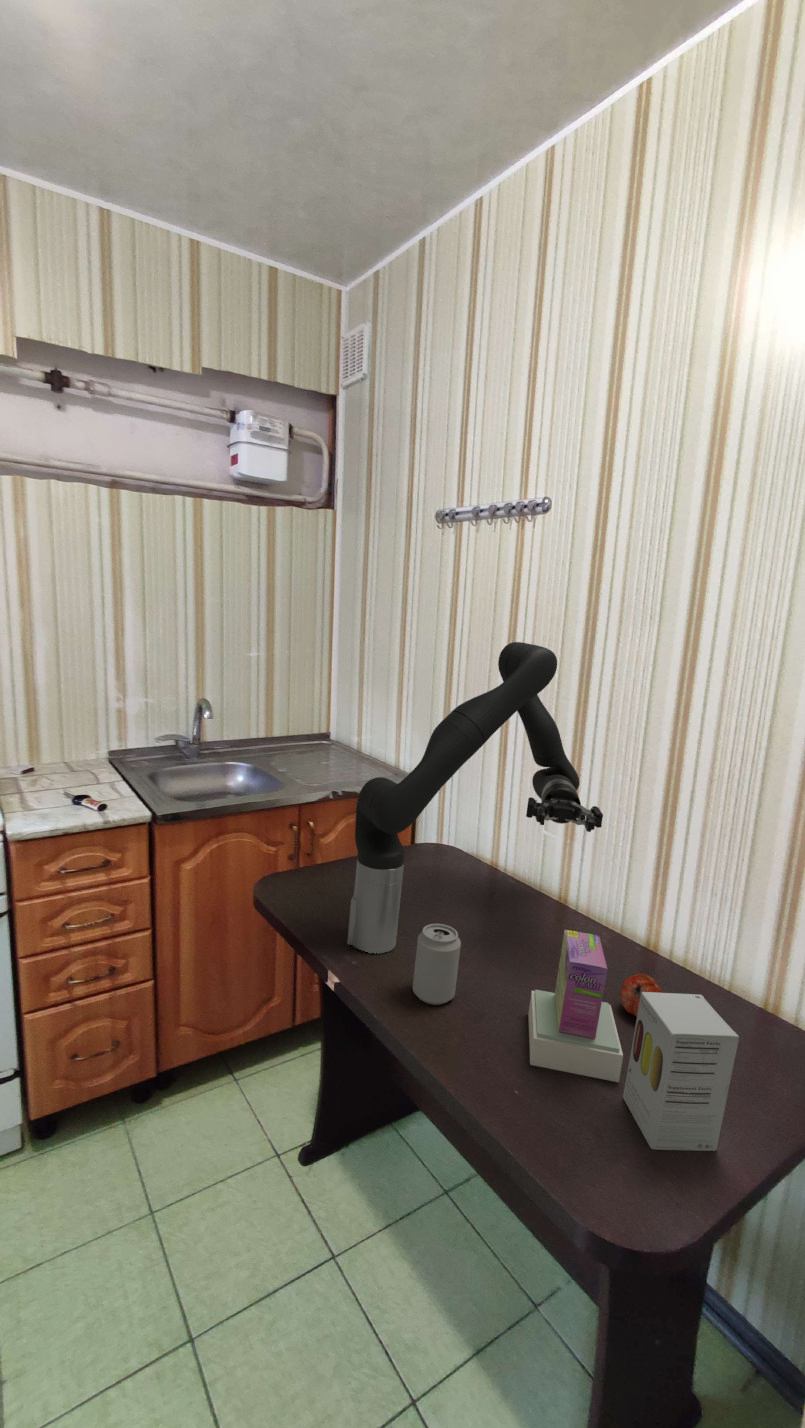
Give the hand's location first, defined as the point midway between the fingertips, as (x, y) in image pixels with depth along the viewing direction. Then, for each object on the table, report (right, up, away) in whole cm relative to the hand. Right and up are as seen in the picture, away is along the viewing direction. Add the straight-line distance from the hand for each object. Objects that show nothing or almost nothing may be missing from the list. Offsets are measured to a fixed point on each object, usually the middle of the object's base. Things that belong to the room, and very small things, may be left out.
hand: (566, 823), depth 120 cm
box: (-3, -28, -17) cm, 33 cm away
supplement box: (+6, -36, -31) cm, 48 cm away
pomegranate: (+11, -33, -6) cm, 35 cm away
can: (-25, -29, -6) cm, 39 cm away
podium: (-3, -33, -16) cm, 37 cm away
